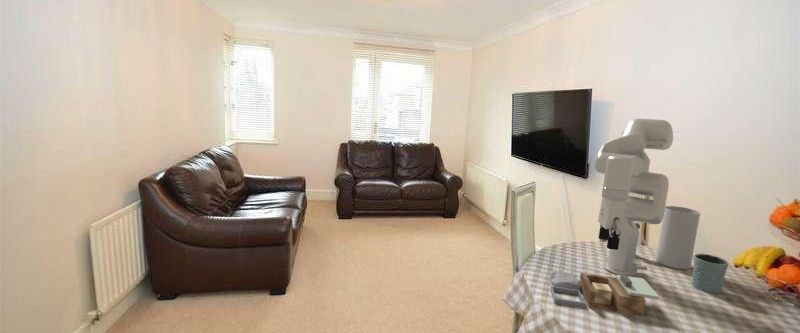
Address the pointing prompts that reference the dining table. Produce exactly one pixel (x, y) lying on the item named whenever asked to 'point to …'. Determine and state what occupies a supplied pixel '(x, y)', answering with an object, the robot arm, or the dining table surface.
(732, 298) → the dining table surface
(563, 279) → the stone block
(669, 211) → the cylinder vase
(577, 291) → the gray tray
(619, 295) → the brown open box
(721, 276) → the teal plant pot
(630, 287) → the sliding lid
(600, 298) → the birch block
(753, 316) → the dining table surface
